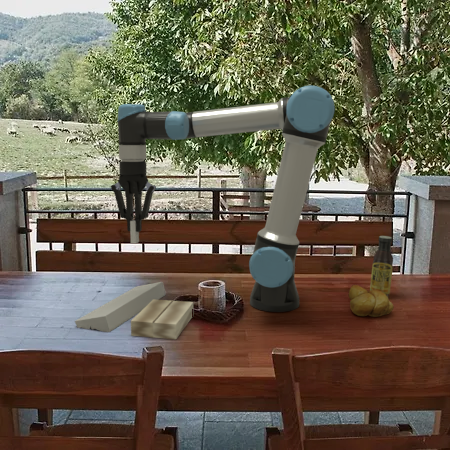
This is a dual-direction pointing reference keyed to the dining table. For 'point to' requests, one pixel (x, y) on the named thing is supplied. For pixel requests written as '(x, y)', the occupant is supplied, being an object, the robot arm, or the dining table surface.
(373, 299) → the bread roll
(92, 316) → the decorative molding
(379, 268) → the sauce bottle
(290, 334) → the dining table surface
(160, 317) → the floorboards
